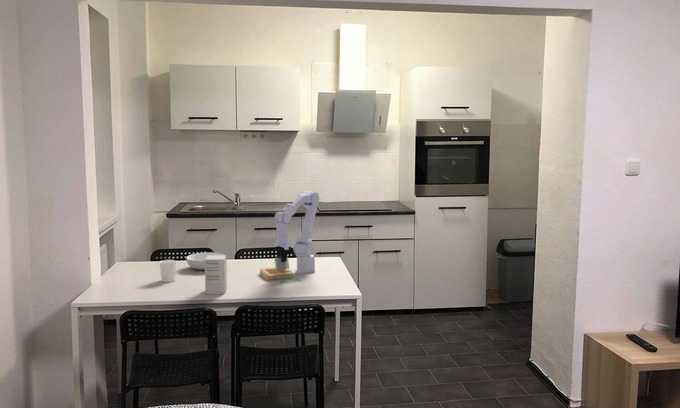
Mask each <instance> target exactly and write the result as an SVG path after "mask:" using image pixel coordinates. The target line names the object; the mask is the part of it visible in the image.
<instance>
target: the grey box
mask: <svg viewBox="0 0 680 408" xmlns="http://www.w3.org/2000/svg"><path fill="white" fill-rule="evenodd" d="M273 260H274V265H275V267H276V270H278V271H281V270H285V269H289V270H290V262H289V257H288V256H287V260H286V262H282V261H281V257H278V256H277V257H275V258H274V259H273Z"/></svg>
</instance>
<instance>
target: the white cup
mask: <svg viewBox="0 0 680 408" xmlns="http://www.w3.org/2000/svg"><path fill="white" fill-rule="evenodd" d="M176 267H177V266H176V260H175V259H164V260H160V261H159V270H160V276H161V279H160V280H161V282H162V283H171V282H174V281H176Z"/></svg>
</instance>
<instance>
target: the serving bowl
mask: <svg viewBox="0 0 680 408" xmlns="http://www.w3.org/2000/svg"><path fill="white" fill-rule="evenodd" d="M208 255H224V254H223V253H220V252H213V251H212V252H207V251H206V252H198V253H191V254H189V255H188V256H186V257H185V258H186V263H187V265H188V266H189V267H191V268H192V269H195V270H200V271H205V259H206V257H207V256H208Z"/></svg>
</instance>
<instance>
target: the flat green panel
mask: <svg viewBox="0 0 680 408" xmlns="http://www.w3.org/2000/svg"><path fill="white" fill-rule="evenodd" d="M274 280H275V281H276V282H278V283H279V284H288V283H295V282H303V280H302V279H301V278H299V277H298V276H293V277H289V278H280V279H274Z"/></svg>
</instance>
